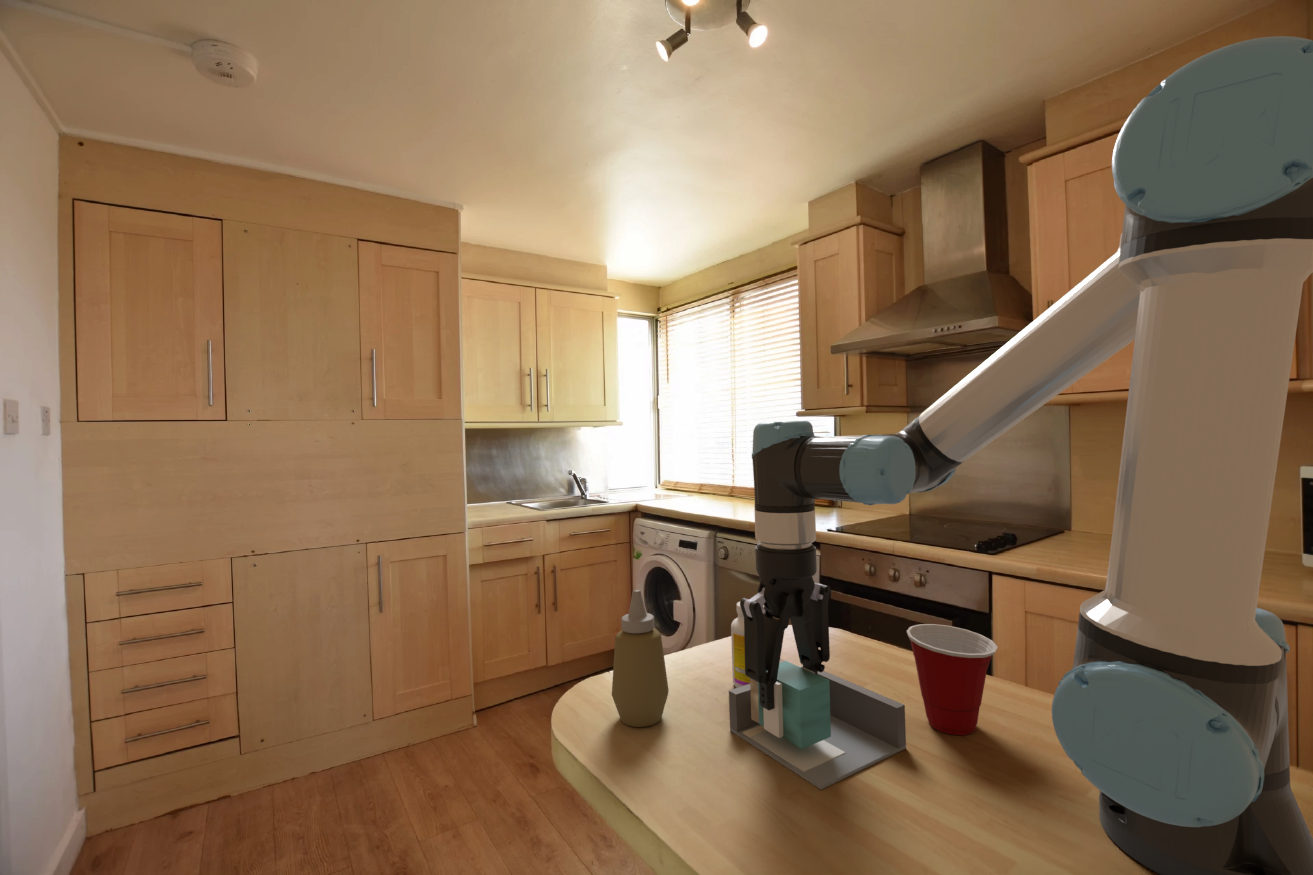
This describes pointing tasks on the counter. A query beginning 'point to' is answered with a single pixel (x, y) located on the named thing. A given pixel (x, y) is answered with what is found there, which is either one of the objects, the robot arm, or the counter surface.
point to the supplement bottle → (738, 650)
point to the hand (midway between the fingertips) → (790, 725)
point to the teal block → (799, 705)
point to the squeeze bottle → (639, 668)
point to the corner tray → (857, 733)
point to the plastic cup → (951, 674)
